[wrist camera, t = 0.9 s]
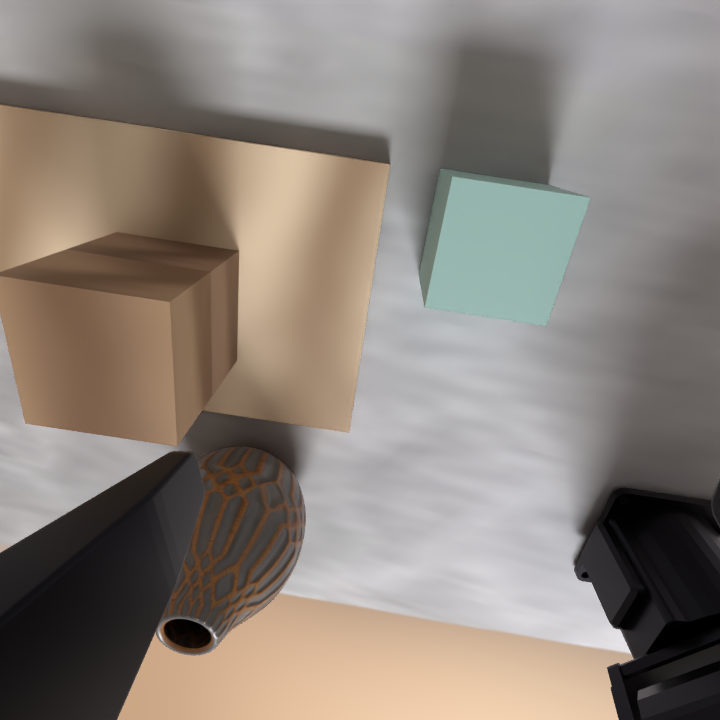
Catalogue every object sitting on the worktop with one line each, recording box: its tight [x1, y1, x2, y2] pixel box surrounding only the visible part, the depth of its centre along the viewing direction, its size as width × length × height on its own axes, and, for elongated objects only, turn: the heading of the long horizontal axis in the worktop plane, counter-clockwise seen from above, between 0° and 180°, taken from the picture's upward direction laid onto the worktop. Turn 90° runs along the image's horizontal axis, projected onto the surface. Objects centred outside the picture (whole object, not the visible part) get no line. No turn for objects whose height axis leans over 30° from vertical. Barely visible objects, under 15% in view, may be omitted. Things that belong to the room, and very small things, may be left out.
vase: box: [156, 446, 306, 655], centre depth 21 cm, size 7×7×9 cm
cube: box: [419, 168, 590, 326], centre depth 17 cm, size 4×4×4 cm
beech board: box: [0, 104, 390, 433], centre depth 20 cm, size 16×12×1 cm
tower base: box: [66, 232, 239, 396], centre depth 18 cm, size 5×5×3 cm
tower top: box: [0, 250, 212, 446], centre depth 15 cm, size 5×5×3 cm
